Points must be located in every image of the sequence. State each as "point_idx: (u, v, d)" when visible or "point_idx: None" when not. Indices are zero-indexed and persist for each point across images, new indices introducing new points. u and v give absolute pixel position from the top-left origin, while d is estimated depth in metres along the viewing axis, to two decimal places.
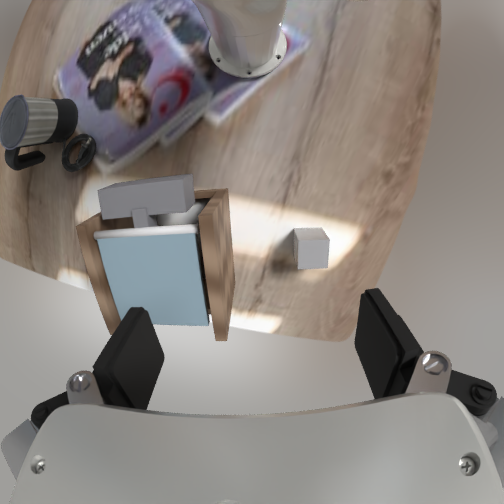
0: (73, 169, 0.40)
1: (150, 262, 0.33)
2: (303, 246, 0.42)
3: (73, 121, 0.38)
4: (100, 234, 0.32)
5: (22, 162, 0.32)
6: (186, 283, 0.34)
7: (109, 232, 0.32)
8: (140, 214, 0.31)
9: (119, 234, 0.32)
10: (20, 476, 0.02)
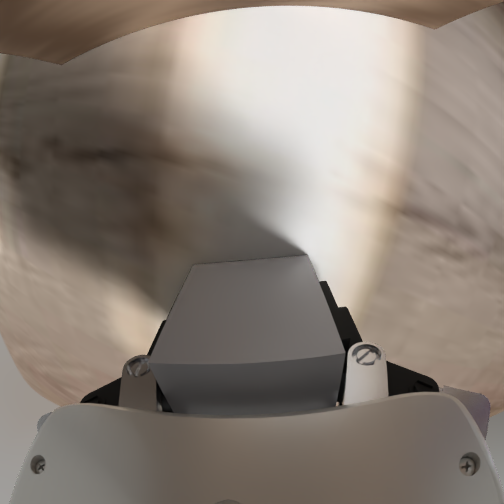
0: None
1: None
2: (303, 379, 0.06)
3: None
4: None
5: None
6: None
7: None
8: None
9: None
10: (20, 476, 0.02)
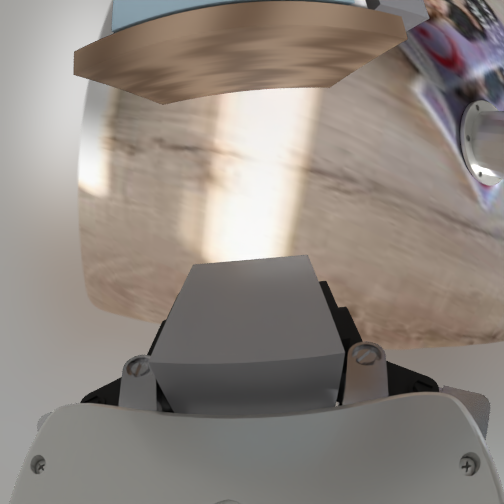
0: None
1: None
2: (303, 378, 0.06)
3: None
4: None
5: None
6: None
7: None
8: None
9: None
10: (20, 476, 0.02)
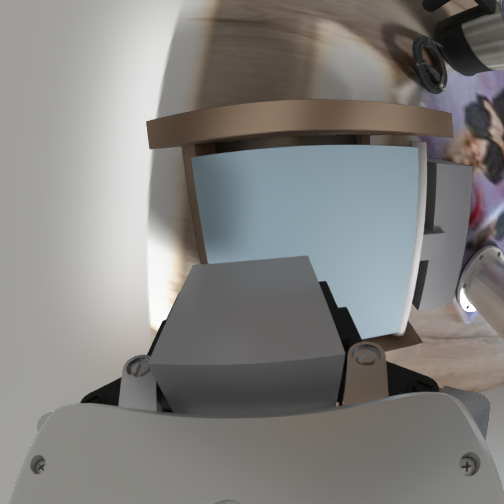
0: (417, 53, 0.20)
1: (366, 264, 0.16)
2: (303, 380, 0.06)
3: (461, 69, 0.21)
4: (425, 160, 0.14)
5: None
6: None
7: (425, 182, 0.14)
8: (437, 248, 0.16)
9: (423, 207, 0.15)
10: (20, 476, 0.02)
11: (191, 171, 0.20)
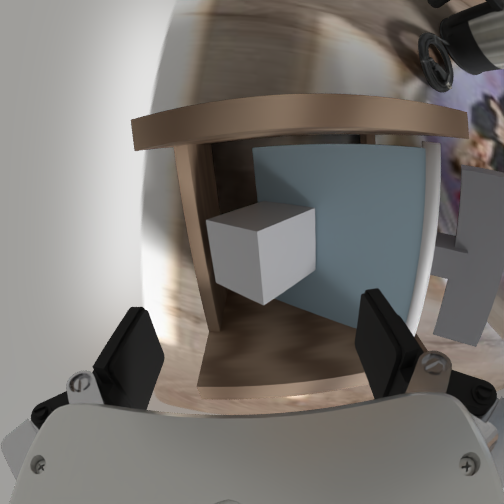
0: (423, 50, 0.18)
1: (368, 257, 0.17)
2: (246, 241, 0.16)
3: (467, 67, 0.19)
4: (435, 162, 0.12)
5: None
6: (328, 298, 0.21)
7: (437, 187, 0.13)
8: (455, 268, 0.13)
9: (430, 214, 0.13)
10: (20, 476, 0.02)
11: (184, 174, 0.18)
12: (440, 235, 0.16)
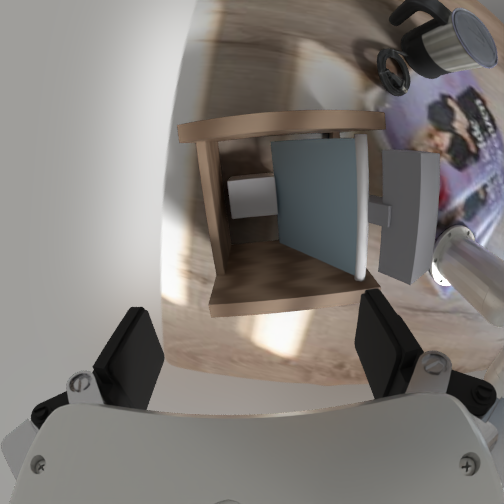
0: (380, 64, 0.28)
1: (330, 210, 0.28)
2: None
3: (424, 73, 0.29)
4: (360, 146, 0.22)
5: (414, 10, 0.18)
6: (312, 241, 0.32)
7: (363, 162, 0.22)
8: (382, 217, 0.23)
9: (359, 179, 0.23)
10: (20, 476, 0.02)
11: (202, 160, 0.28)
12: (381, 198, 0.24)
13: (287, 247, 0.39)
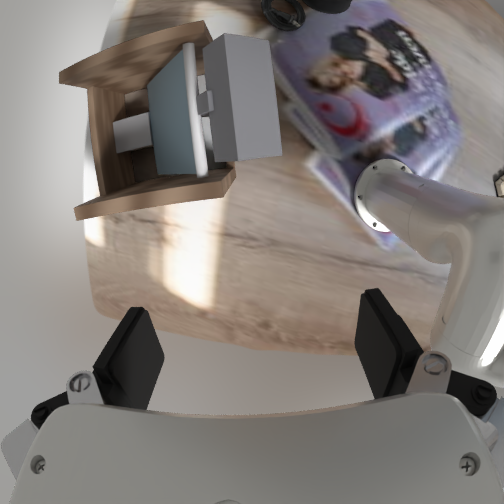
0: (264, 4, 0.27)
1: (176, 119, 0.27)
2: None
3: (322, 8, 0.28)
4: (185, 52, 0.21)
5: None
6: (171, 158, 0.31)
7: (188, 64, 0.21)
8: (204, 103, 0.22)
9: (186, 79, 0.22)
10: (20, 476, 0.02)
11: (90, 100, 0.27)
12: None
13: (175, 176, 0.38)
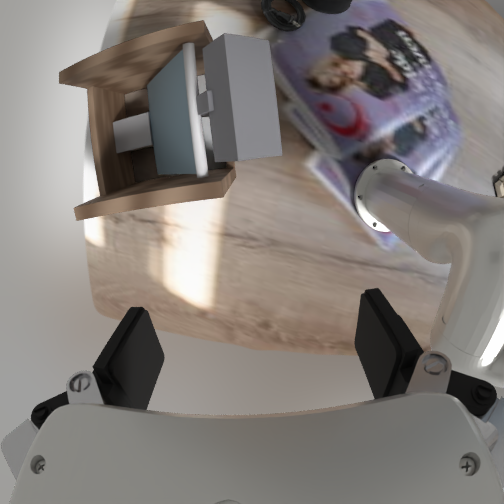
0: (264, 4, 0.27)
1: (176, 119, 0.27)
2: None
3: (322, 8, 0.28)
4: (185, 52, 0.21)
5: None
6: (171, 158, 0.31)
7: (188, 64, 0.21)
8: (204, 103, 0.22)
9: (186, 79, 0.22)
10: (20, 476, 0.02)
11: (90, 100, 0.27)
12: None
13: (175, 176, 0.38)
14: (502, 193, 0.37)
